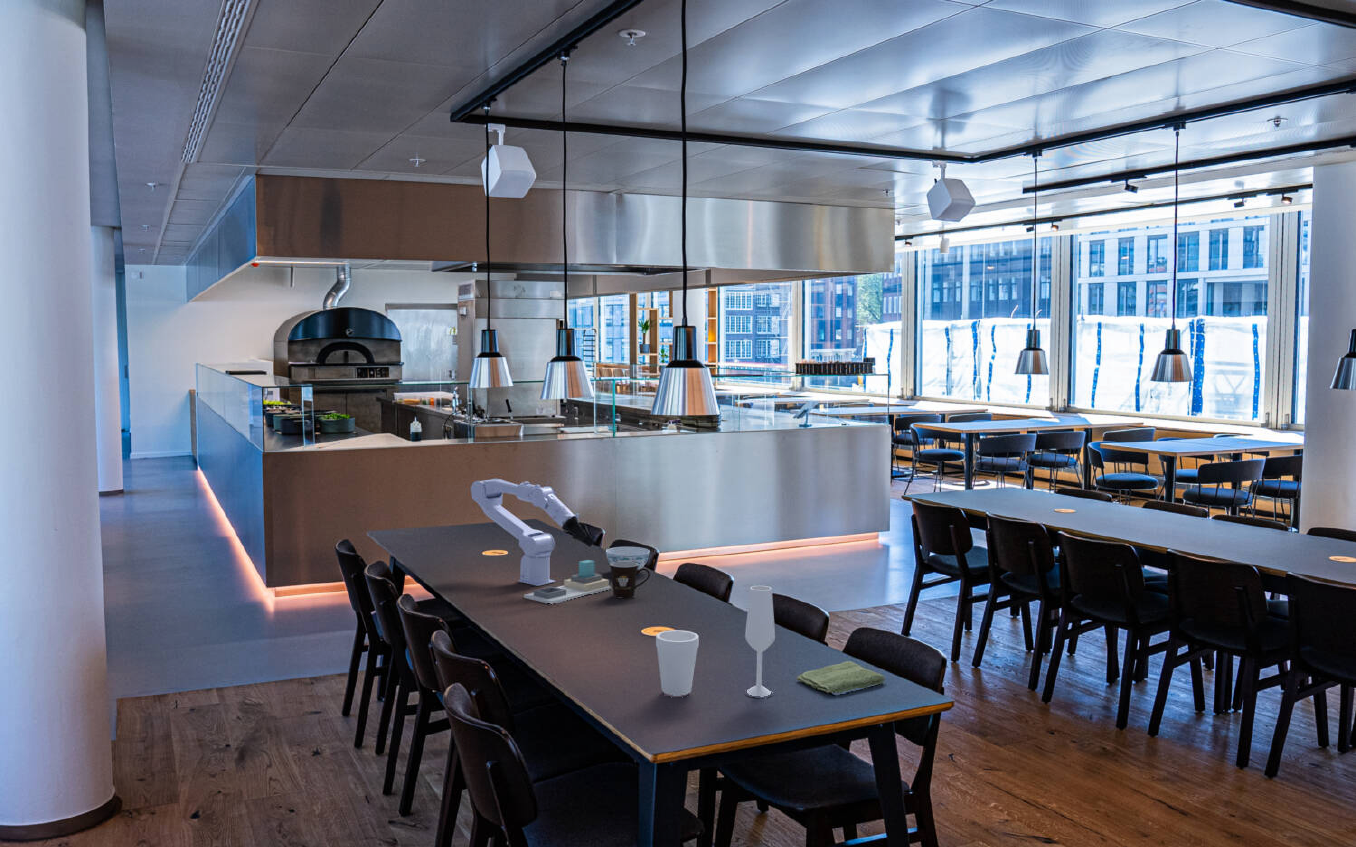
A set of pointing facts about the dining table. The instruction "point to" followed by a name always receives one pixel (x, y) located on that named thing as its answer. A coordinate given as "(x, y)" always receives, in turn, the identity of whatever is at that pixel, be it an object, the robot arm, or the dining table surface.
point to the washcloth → (841, 677)
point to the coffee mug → (625, 578)
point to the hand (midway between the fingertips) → (588, 541)
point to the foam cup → (677, 660)
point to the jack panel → (570, 589)
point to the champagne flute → (760, 630)
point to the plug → (586, 568)
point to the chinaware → (628, 555)
